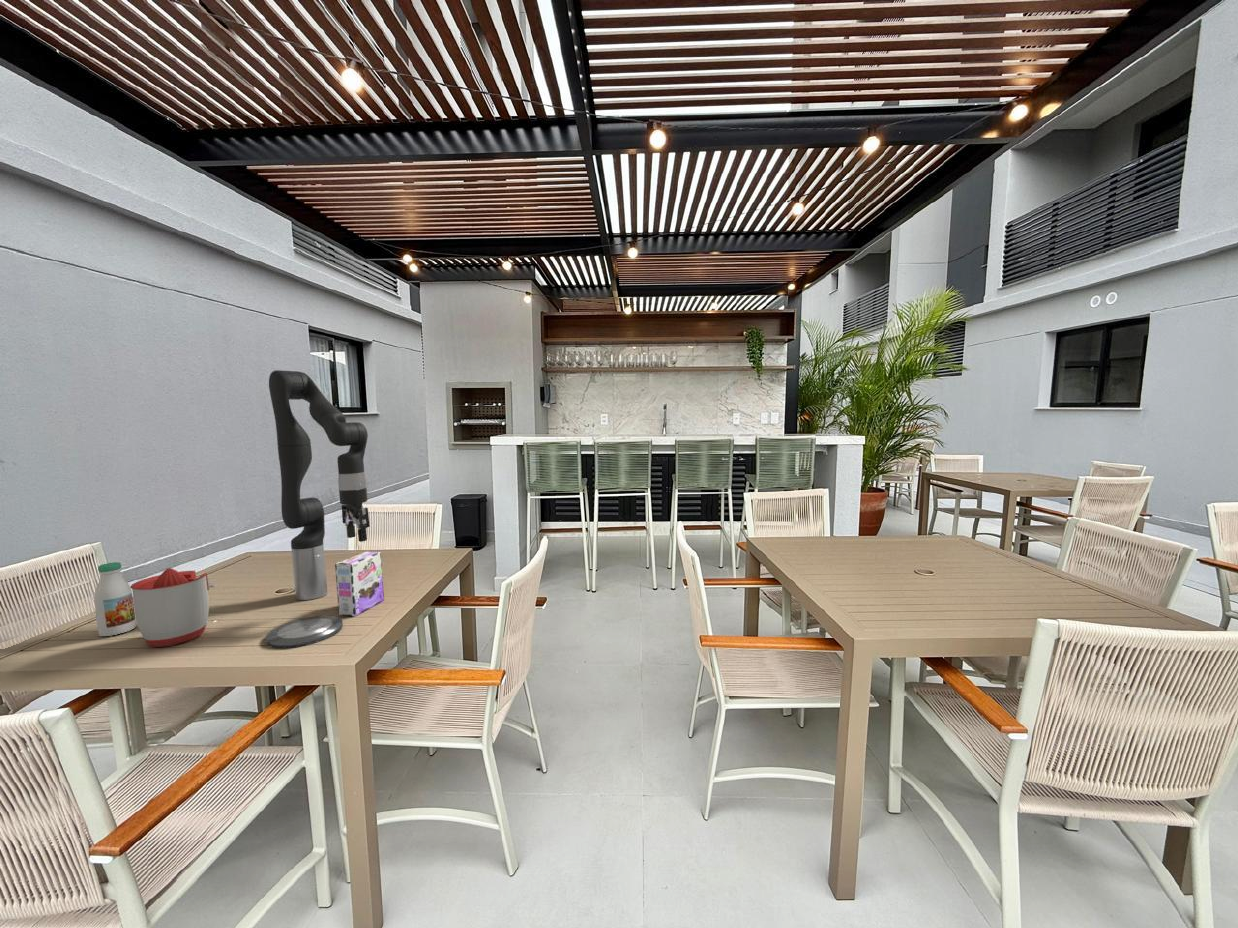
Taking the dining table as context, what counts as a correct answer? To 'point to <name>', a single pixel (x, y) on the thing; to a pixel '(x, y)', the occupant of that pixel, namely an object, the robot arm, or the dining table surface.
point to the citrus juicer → (171, 607)
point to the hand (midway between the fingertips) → (357, 539)
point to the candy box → (359, 583)
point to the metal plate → (304, 631)
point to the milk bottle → (113, 601)
